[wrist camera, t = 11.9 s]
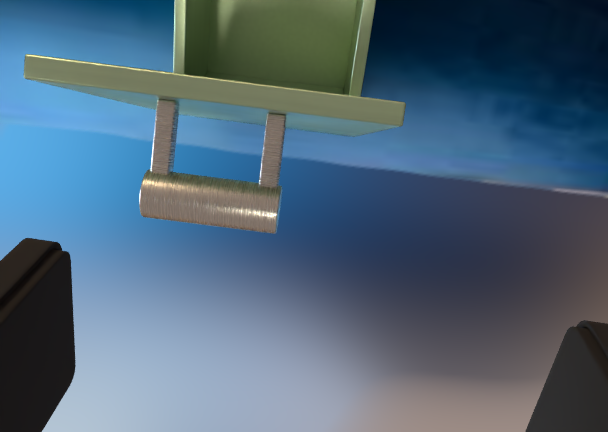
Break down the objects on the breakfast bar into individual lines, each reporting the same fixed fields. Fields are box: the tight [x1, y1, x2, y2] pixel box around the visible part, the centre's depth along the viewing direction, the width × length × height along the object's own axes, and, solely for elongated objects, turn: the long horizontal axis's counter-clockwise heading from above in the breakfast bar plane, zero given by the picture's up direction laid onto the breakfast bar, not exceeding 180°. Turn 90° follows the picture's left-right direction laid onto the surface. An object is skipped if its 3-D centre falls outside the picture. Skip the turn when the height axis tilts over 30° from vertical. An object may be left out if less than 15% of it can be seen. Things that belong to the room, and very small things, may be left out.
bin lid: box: [24, 54, 406, 233], centre depth 29 cm, size 20×13×5 cm
